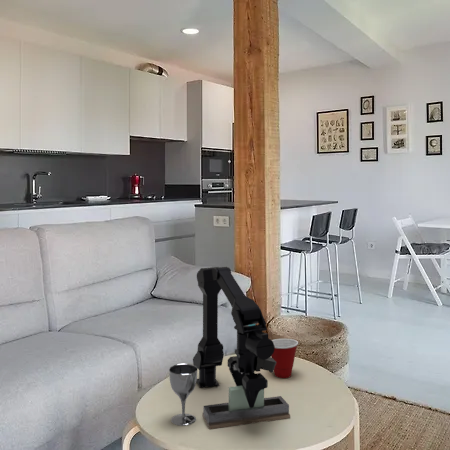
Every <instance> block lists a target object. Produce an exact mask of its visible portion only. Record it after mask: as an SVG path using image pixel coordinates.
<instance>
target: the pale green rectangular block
mask: <svg viewBox="0 0 450 450" xmlns="http://www.w3.org/2000/svg"><path fill="white" fill-rule="evenodd" d="M264 398H265V389H262V390H260V391H259V393H258V395H257V398H256V401H255V404H254V407H253V408H255V407H263V406H264ZM228 403H229V411H232V410H240V409H247V408H250V407H249V405H248V402H247V399H246V396H245V393H244V390H243V387H242V386H236V385H235V386H229V387H228Z"/></svg>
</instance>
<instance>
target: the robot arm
mask: <svg viewBox="0 0 450 450" xmlns="http://www.w3.org/2000/svg"><path fill="white" fill-rule="evenodd" d="M196 280H197V286H198V288H199V290H200V291H201V293H202V337H201V339H200V341H199V342H198V344H197V351H196V353H195V355H194V356H193V358H192V365H194V366H196V367H197V370H198V378H197V382H196V384H197V385H198V386H199V388H201V389H202V388H210V387H211V388H212V387H217V386H220V383H219V382H218V380H217V367H220V366H222V365H223V361H224V355H225V353H224V345H223V343H221V341H220V339H219V336H218V333H219V331H218V326H219V325H218V320H219V318H218V316H219V315H218V314H219V312H218V311H219V310H218V309H219V308H218V307H219V304H218V303H219V298H218V297H219V294H220V292H221V291H222V292H223V294H224V296H225V297H226V299H227V301H228V302H229V305H230V306H231V312H230V314H231V316H232V320H233V322H234V324H235V325H234V326H233V329H234V330H235V331H236V349H234V354H235V355H236V356H230V357H229V358H228V359H227V367H228V370H229V372H230V375H231V376H232V380H233V382H234V384H235V386H242V387H243V390H244V393H245V396H246V399H247V402H248V405H249V407H250V408H253V407H254V404H255V401H256V398H257V395H258V393H259V391H260V390H262V389H264V390H265V389H267V388H268V379H267V378H266V377H265V376H264V375H263V374H262V373H260V372H261V370H264V371H267V372H269V373H274V368H275V365H276V361H275V360H274V359H273V358H272V357H271V356H272V354H273V353H274V349H275V346H274V343H273V341H272V340H273V339H270V337H269V333H267V332H264V331H267V330H268V329H267V328H268V327H267V322H266V320H265V317H264V316H263V312H262V310H261V308H260V306H259V305H258V304H257V303H256V302H255V300H254V299H252V298H250V297H248V296H246V294H245V293H244V292H243V290H242V288H241V286H240V285H239V283H238V282H237V280H236V278H235V277H234V275H233V274H232V270H231V268H230V267H228V266H220V267H219V266H212V267H201V268H200V269H199V270H198V271H197V272H196ZM252 324H256V325H254V326H248V325H252ZM255 372H258V373H255Z"/></svg>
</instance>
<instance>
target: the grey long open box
mask: <svg viewBox="0 0 450 450" xmlns="http://www.w3.org/2000/svg"><path fill="white" fill-rule="evenodd" d="M202 408H203V409H202V410H203V412H202V417H203V420H204V422H205V423H206V425H207V428H208V429H209V430H214V429H221V428H222V429H223V428H228V427H235V426H237V427H238V426H243V425H248V424H251V425H252V424H257V423H263V422H264V423H265V422H272V421H278V420H279V421H280V420H284V419H285V420H287V419H291V414H290V411H289V410H290V405H289V403H288V402H287V401H286V400H285V399H284V398H283V396H281V395H277V396H272V397H271V396H270V397H264V406H263V407H255V408H247V409H240V410H232V411H229V402H223V403H222V402H221V403H214V404H208V405H203V406H202Z"/></svg>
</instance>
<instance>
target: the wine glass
mask: <svg viewBox="0 0 450 450" xmlns="http://www.w3.org/2000/svg"><path fill="white" fill-rule="evenodd" d="M168 377H169V383H170V388H171V390H172V391H173V392H174V393H175V394H176V395H177V397H178V398H179V399H180V402H181V413H178V414H175V415H174V416H172V417H171V418H170V421H171V423H172V424H173V425H175V426H181V427H183V426H184V427H185V426H189V425H192V424H195V423H196V421H197V419H196V416H194V415H193V414H190V413H186V412H185V411H186V403H187V399H188V397H189V396H190V395H191V394H192V393H193V392H194V390H195V389H196V386H197V379H198V369H197V367H196V366H194V365H193V364H190V363H177V364H174V365H172V366H170V367H169V369H168Z"/></svg>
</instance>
